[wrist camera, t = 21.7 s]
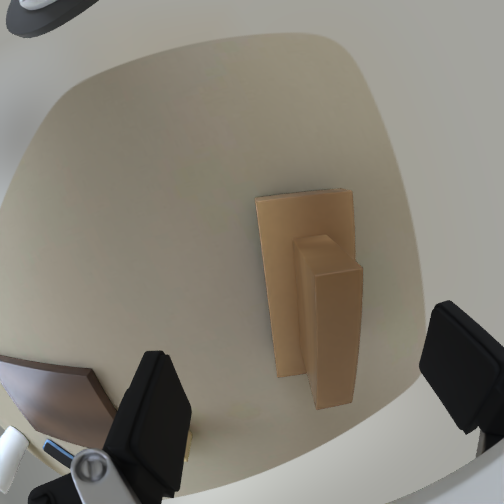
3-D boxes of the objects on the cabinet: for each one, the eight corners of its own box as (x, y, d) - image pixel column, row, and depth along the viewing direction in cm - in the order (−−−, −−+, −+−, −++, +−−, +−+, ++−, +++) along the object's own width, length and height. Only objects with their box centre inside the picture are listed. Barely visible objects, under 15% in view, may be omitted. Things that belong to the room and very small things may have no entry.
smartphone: (45, 440, 25) (124, 488, 28) (47, 437, 26) (125, 485, 28) (41, 449, 26) (111, 493, 29) (43, 446, 27) (112, 489, 30)
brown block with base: (274, 351, 19) (285, 438, 12) (254, 195, 16) (258, 219, 8) (339, 340, 19) (376, 418, 12) (335, 186, 16) (402, 203, 8)
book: (-10, 352, 21) (-15, 357, 20) (91, 368, 20) (86, 376, 19) (38, 425, 25) (35, 430, 24) (145, 452, 24) (143, 459, 23)
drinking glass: (5, 425, 27) (-23, 470, 13) (8, 418, 26) (-25, 468, 11) (30, 447, 29) (5, 494, 14) (35, 443, 27) (7, 495, 13)
